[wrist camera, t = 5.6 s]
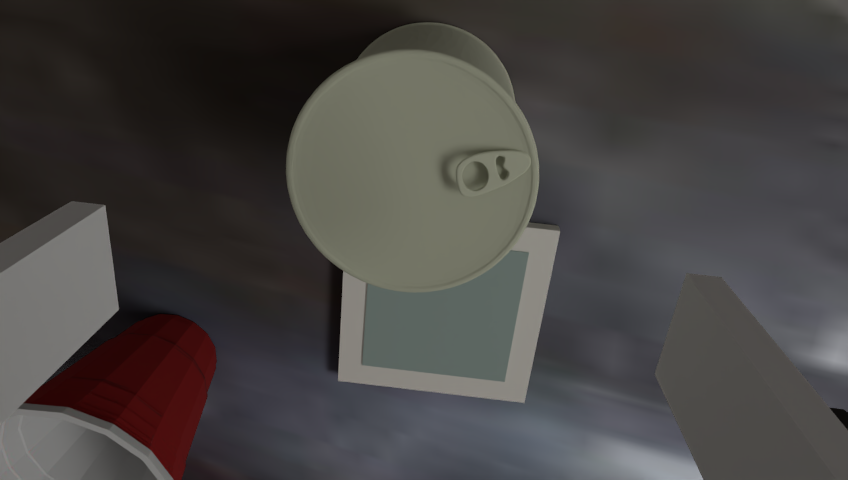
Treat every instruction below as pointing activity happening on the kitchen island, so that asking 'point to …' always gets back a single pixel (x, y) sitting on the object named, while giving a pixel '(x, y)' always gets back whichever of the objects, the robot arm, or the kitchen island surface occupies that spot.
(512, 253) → the square picture frame
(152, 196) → the kitchen island surface
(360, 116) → the can
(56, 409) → the plastic cup
